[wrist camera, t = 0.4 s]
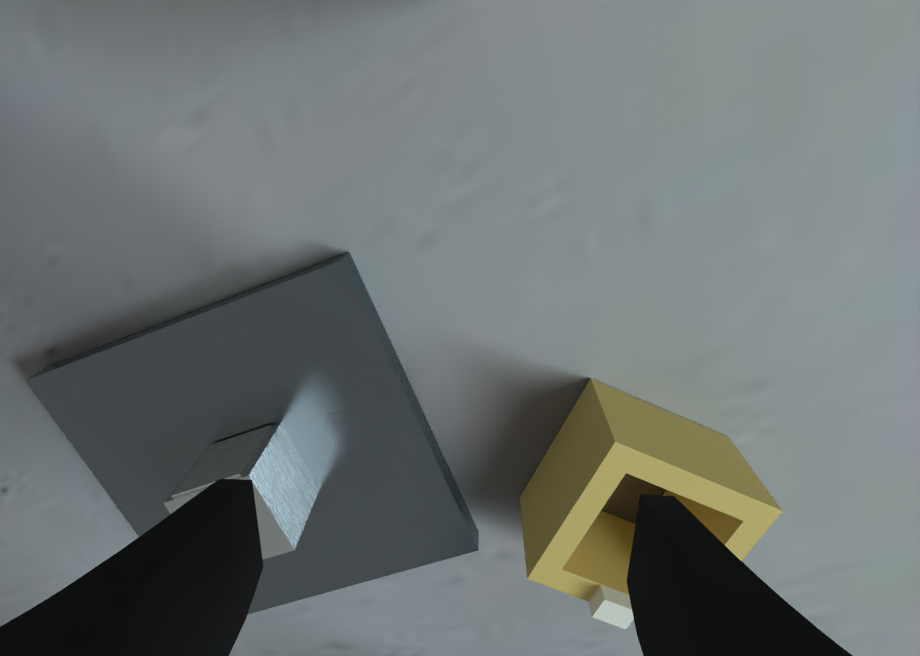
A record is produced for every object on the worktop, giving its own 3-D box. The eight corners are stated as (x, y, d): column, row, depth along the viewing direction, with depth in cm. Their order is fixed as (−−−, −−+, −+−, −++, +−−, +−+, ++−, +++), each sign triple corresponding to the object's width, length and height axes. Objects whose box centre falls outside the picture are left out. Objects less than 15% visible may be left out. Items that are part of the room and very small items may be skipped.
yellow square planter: (728, 436, 21) (792, 524, 17) (648, 547, 23) (686, 651, 19) (590, 378, 20) (619, 453, 16) (519, 497, 22) (528, 593, 18)
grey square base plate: (478, 531, 23) (477, 616, 19) (214, 606, 25) (167, 696, 21) (349, 252, 19) (316, 290, 15) (45, 367, 21) (-49, 426, 17)
